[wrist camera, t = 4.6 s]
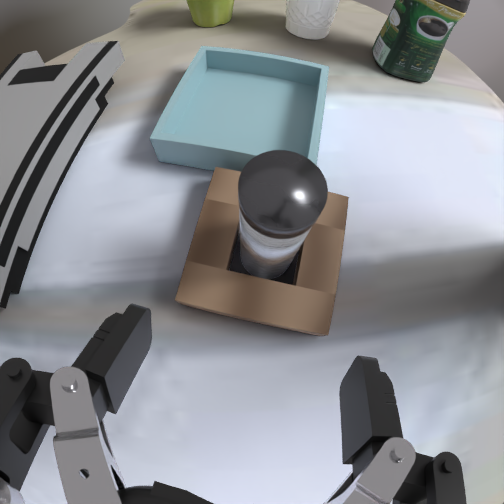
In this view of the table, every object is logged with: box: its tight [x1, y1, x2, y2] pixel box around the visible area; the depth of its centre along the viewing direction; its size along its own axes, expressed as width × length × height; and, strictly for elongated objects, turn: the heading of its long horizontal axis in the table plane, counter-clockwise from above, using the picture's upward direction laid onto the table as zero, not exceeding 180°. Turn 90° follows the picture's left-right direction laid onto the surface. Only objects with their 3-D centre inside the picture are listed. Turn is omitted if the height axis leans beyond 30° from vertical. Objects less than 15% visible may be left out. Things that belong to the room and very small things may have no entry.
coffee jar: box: [372, 0, 470, 82], centre depth 27 cm, size 10×8×19 cm
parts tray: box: [150, 46, 329, 172], centre depth 29 cm, size 15×15×4 cm
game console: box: [0, 41, 125, 308], centre depth 25 cm, size 21×32×8 cm, turn 165°
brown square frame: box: [175, 167, 349, 336], centre depth 26 cm, size 12×12×2 cm
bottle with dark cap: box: [238, 150, 328, 279], centre depth 21 cm, size 5×5×12 cm
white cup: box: [286, 0, 340, 40], centre depth 33 cm, size 8×8×10 cm
